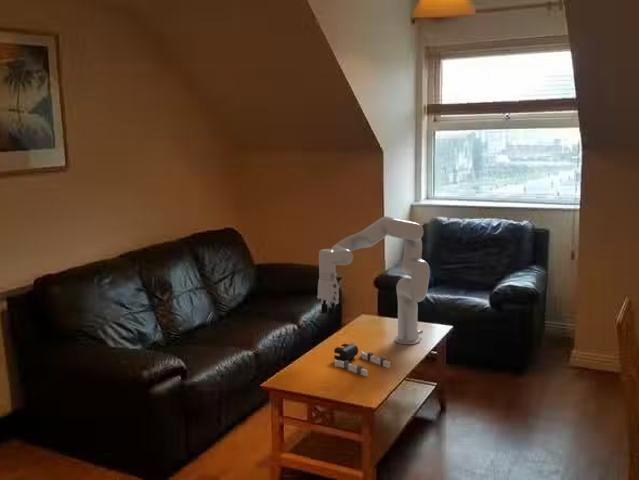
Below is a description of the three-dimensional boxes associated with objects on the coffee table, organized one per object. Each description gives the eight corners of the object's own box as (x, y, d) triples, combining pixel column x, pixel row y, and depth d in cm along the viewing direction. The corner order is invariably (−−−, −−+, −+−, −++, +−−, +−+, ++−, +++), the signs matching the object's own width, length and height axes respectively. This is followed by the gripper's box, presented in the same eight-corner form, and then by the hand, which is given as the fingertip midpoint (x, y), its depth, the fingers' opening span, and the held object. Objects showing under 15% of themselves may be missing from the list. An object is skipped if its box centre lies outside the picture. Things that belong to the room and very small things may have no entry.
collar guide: (362, 355, 311) (362, 348, 311) (392, 366, 298) (392, 358, 297) (333, 365, 300) (333, 358, 299) (363, 377, 286) (363, 369, 285)
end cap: (347, 365, 301) (347, 350, 299) (333, 362, 304) (333, 347, 303) (358, 358, 309) (358, 344, 307) (345, 355, 313) (345, 341, 311)
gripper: (345, 277, 305) (346, 316, 308) (321, 271, 317) (322, 309, 320) (333, 280, 300) (334, 319, 303) (309, 274, 312) (310, 312, 316)
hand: (328, 313), depth 312 cm, fingers open, 4 cm apart
